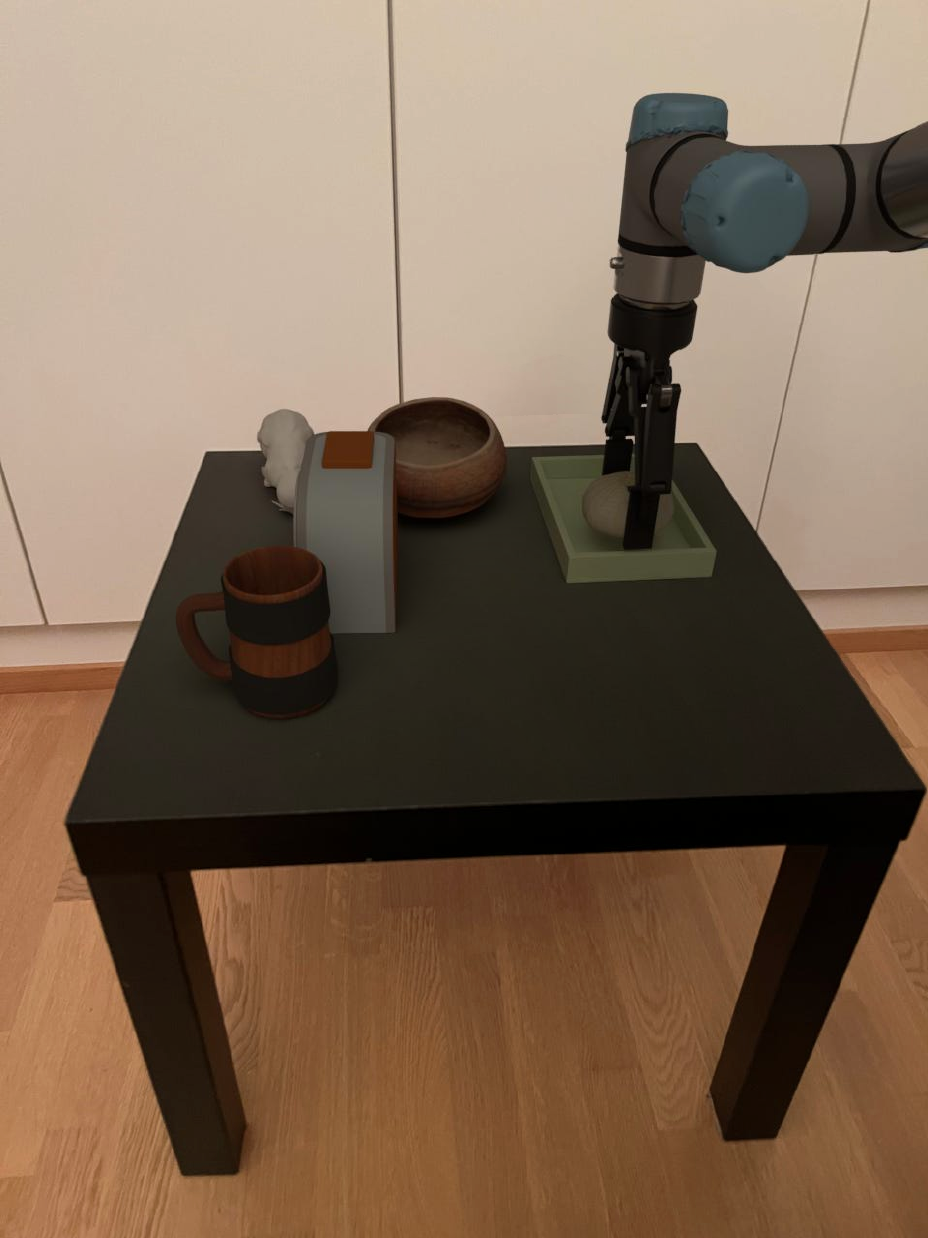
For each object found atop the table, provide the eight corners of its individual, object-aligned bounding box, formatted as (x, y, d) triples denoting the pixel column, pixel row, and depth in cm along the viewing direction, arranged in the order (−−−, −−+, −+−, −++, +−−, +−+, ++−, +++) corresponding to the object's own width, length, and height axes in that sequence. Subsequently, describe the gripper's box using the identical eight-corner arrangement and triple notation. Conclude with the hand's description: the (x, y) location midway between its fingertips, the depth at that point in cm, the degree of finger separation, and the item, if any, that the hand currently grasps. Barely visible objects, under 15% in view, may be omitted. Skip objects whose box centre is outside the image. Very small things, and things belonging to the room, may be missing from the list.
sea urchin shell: (699, 510, 94) (666, 472, 88) (650, 573, 95) (614, 541, 89) (636, 474, 100) (601, 437, 94) (591, 534, 101) (553, 501, 95)
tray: (711, 577, 94) (717, 551, 92) (566, 583, 92) (569, 557, 90) (652, 476, 111) (656, 452, 109) (530, 480, 110) (531, 456, 108)
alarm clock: (315, 546, 97) (304, 423, 89) (398, 546, 97) (395, 423, 89) (300, 633, 85) (287, 499, 77) (396, 632, 85) (392, 499, 77)
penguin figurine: (310, 400, 105) (323, 456, 96) (315, 466, 111) (328, 525, 102) (252, 404, 104) (260, 461, 95) (260, 470, 110) (268, 531, 101)
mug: (190, 669, 80) (168, 551, 74) (331, 650, 83) (322, 535, 76) (191, 737, 74) (167, 615, 67) (345, 714, 76) (337, 594, 69)
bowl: (346, 531, 99) (341, 444, 94) (380, 465, 112) (377, 384, 106) (494, 546, 98) (498, 458, 92) (512, 477, 110) (516, 395, 104)
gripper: (585, 261, 91) (566, 472, 104) (646, 340, 73) (613, 583, 86) (661, 261, 92) (633, 470, 105) (739, 338, 74) (693, 579, 87)
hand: (624, 521), depth 96 cm, fingers closed on sea urchin shell, 9 cm apart
